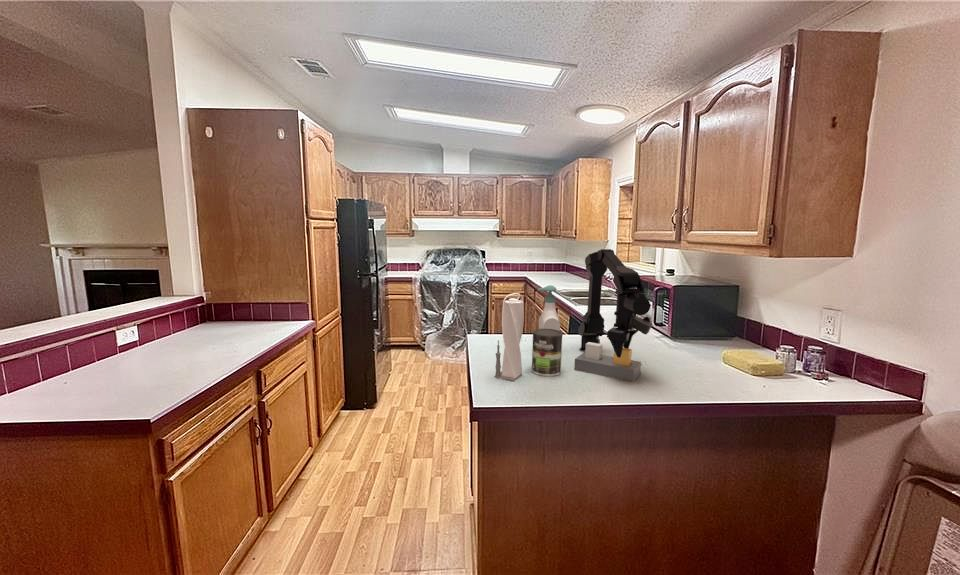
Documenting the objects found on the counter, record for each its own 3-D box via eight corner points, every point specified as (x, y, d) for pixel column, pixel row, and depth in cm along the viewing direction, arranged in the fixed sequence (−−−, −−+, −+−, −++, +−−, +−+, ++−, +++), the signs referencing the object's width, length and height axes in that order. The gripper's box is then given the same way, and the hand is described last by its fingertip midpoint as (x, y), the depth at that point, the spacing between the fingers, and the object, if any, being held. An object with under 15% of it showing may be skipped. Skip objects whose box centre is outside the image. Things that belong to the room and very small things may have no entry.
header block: (574, 369, 139) (574, 358, 139) (584, 361, 147) (584, 351, 147) (633, 382, 128) (633, 370, 127) (640, 373, 136) (641, 361, 136)
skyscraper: (505, 369, 139) (507, 291, 135) (526, 374, 135) (528, 293, 131) (494, 377, 132) (495, 295, 128) (516, 382, 128) (517, 297, 124)
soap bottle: (533, 348, 164) (535, 283, 160) (553, 348, 164) (555, 283, 160) (538, 357, 153) (539, 287, 149) (559, 357, 153) (561, 287, 149)
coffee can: (556, 378, 131) (557, 337, 129) (527, 373, 136) (528, 333, 134) (564, 369, 140) (566, 330, 138) (537, 364, 145) (538, 327, 143)
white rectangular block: (584, 365, 140) (585, 343, 139) (587, 363, 143) (588, 341, 142) (598, 368, 138) (599, 346, 137) (601, 365, 140) (602, 344, 139)
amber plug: (613, 371, 135) (614, 348, 134) (615, 368, 137) (616, 346, 136) (628, 374, 132) (629, 351, 131) (630, 371, 135) (631, 349, 133)
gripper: (644, 316, 119) (641, 366, 122) (656, 307, 135) (653, 351, 137) (607, 312, 126) (605, 359, 128) (623, 303, 141) (620, 345, 143)
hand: (622, 353), depth 134 cm, fingers open, 9 cm apart
